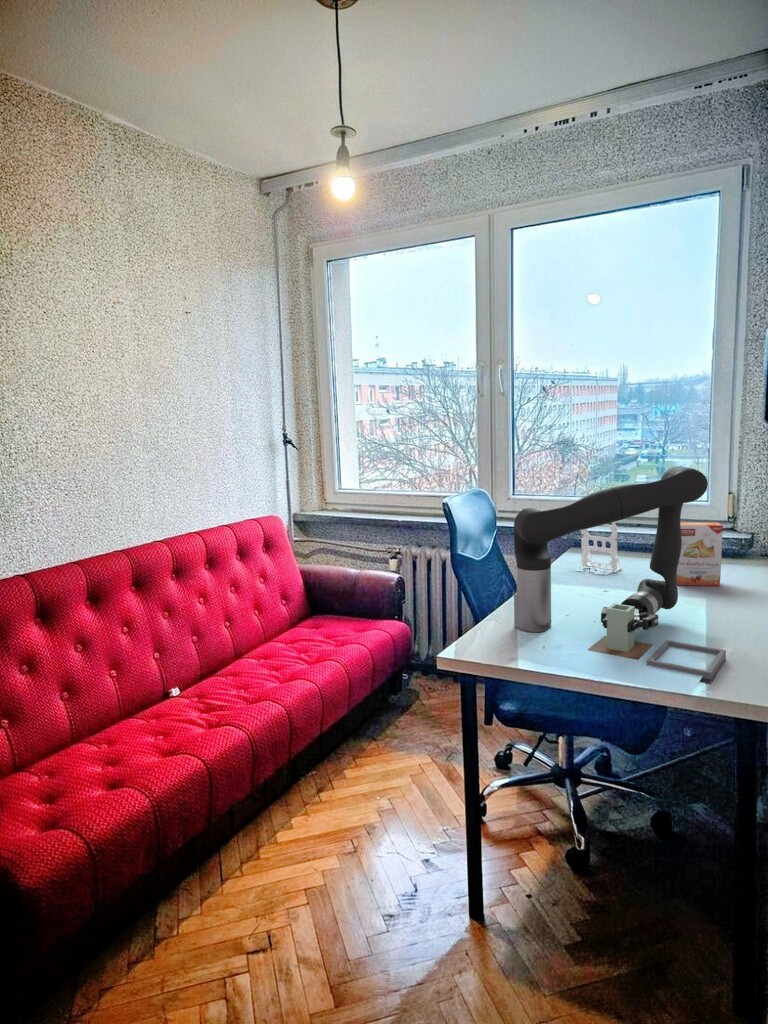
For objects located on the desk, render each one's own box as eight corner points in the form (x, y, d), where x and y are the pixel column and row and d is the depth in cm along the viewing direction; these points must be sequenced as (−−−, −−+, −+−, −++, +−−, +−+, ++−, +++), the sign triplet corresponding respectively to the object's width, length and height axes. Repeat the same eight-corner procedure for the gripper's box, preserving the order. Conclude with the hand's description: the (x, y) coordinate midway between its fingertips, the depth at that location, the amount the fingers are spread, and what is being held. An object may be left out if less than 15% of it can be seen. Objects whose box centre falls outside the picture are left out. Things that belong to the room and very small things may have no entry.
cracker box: (675, 585, 210) (676, 524, 207) (671, 581, 216) (673, 521, 213) (721, 586, 207) (723, 524, 204) (716, 582, 212) (718, 521, 210)
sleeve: (606, 648, 152) (606, 608, 150) (613, 642, 155) (613, 603, 154) (627, 652, 148) (628, 611, 147) (634, 645, 152) (634, 606, 151)
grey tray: (646, 671, 141) (647, 660, 140) (666, 649, 153) (666, 640, 153) (710, 684, 132) (710, 672, 132) (725, 660, 145) (726, 650, 144)
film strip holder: (571, 570, 237) (571, 519, 234) (590, 564, 246) (590, 514, 243) (606, 576, 226) (606, 522, 224) (624, 569, 235) (625, 517, 233)
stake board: (587, 655, 151) (587, 613, 150) (604, 641, 160) (604, 601, 159) (638, 666, 144) (638, 622, 142) (653, 650, 153) (654, 608, 152)
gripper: (611, 590, 166) (587, 606, 153) (668, 598, 157) (648, 615, 144) (611, 618, 167) (587, 636, 154) (667, 627, 158) (647, 647, 145)
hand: (617, 626), depth 149 cm, fingers closed on sleeve, 5 cm apart
